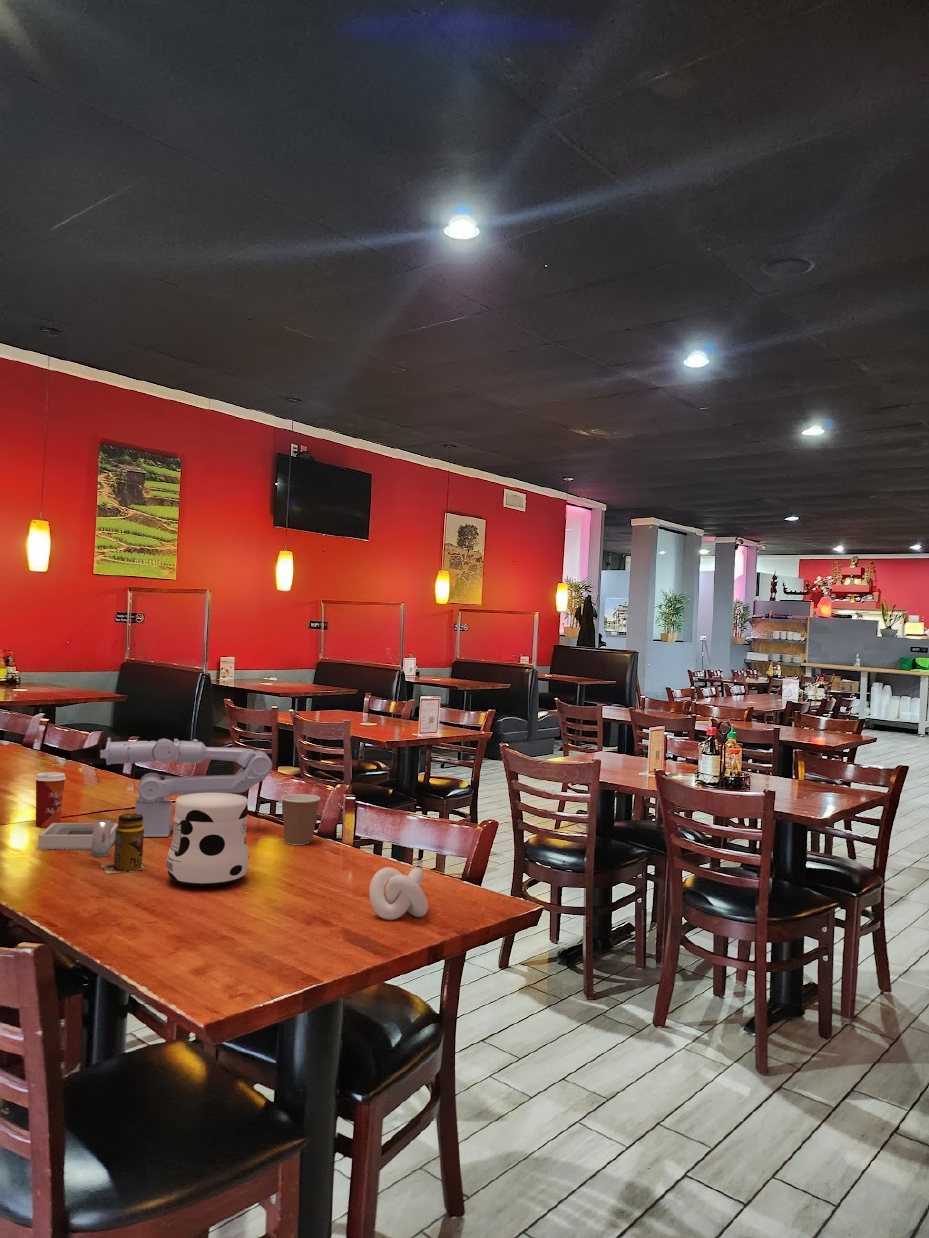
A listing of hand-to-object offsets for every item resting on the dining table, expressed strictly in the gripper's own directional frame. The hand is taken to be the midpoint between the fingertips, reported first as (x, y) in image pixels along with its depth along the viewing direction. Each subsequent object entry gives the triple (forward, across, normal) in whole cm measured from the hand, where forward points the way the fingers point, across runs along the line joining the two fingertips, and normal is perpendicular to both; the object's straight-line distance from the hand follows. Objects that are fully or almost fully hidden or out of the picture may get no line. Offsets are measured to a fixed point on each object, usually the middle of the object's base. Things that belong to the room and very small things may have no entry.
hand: (71, 754), depth 221 cm
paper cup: (+7, -15, +19) cm, 25 cm away
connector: (-8, +19, +24) cm, 31 cm away
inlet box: (-3, +6, +22) cm, 23 cm away
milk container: (-32, +44, +28) cm, 61 cm away
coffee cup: (-56, +11, +26) cm, 63 cm away
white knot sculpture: (-67, +73, +33) cm, 105 cm away
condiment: (-14, +31, +26) cm, 43 cm away
